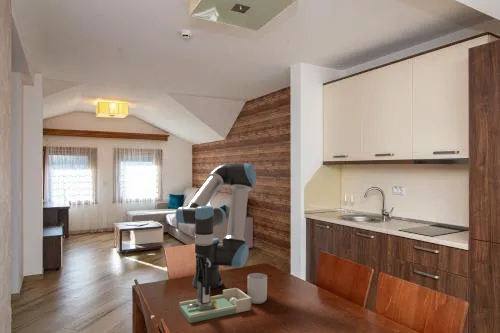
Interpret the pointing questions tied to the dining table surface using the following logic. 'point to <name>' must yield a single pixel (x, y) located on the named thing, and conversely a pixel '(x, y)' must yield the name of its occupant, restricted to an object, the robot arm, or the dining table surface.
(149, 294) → the dining table surface
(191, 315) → the pitch
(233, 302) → the ball
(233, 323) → the dining table surface
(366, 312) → the dining table surface
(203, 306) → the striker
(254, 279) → the mug
